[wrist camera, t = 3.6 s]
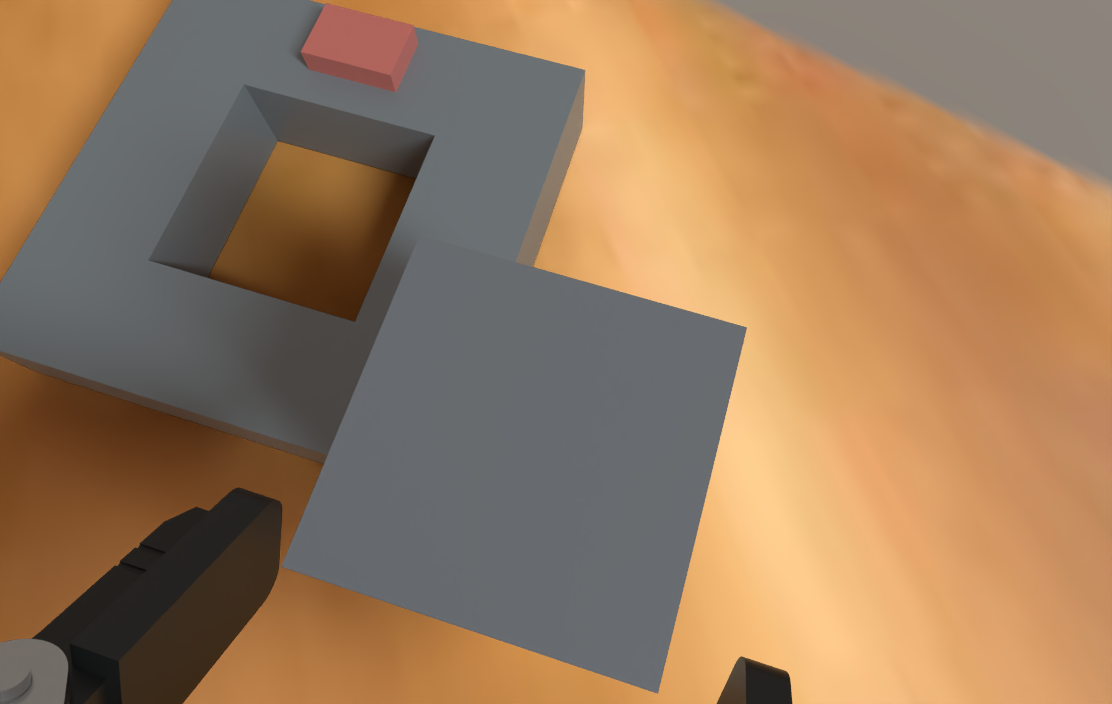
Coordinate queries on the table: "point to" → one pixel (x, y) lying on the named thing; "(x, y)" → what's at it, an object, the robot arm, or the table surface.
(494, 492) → the plug
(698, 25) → the table surface
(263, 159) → the socket
